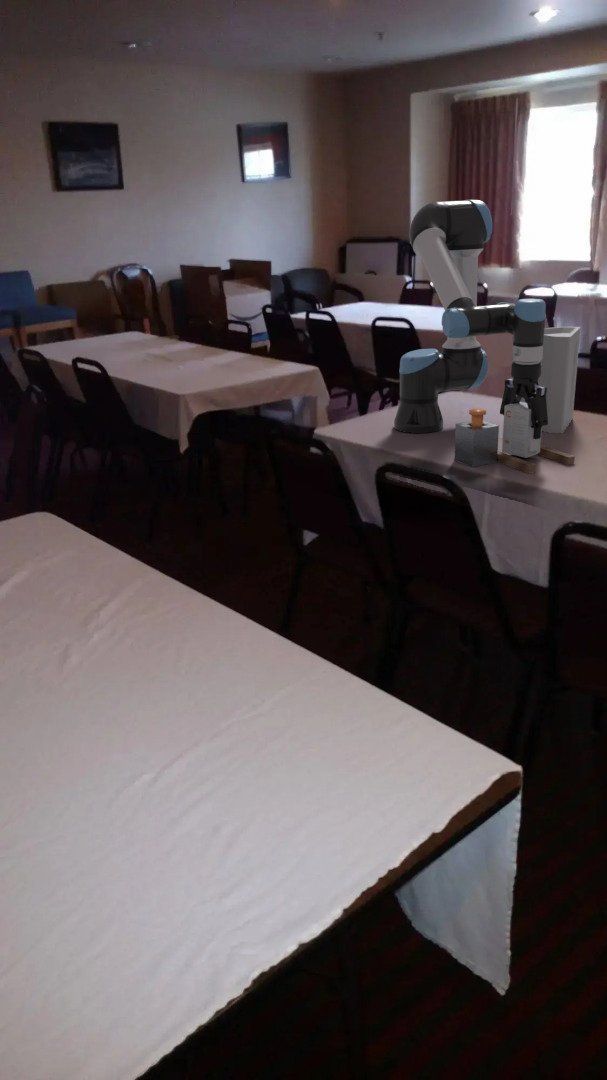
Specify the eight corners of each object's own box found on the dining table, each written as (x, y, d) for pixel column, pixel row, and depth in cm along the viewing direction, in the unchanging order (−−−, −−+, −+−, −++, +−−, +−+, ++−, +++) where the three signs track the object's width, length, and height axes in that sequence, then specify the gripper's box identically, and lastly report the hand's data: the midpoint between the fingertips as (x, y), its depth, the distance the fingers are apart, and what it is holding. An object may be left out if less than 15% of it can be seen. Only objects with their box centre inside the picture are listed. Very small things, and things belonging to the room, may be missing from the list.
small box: (540, 453, 216) (544, 405, 210) (526, 458, 212) (529, 410, 207) (515, 447, 221) (518, 400, 216) (501, 452, 218) (503, 405, 213)
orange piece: (464, 435, 214) (465, 410, 211) (478, 432, 216) (479, 407, 213) (475, 438, 210) (476, 413, 208) (488, 436, 212) (489, 410, 209)
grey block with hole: (454, 459, 217) (455, 423, 213) (478, 454, 220) (479, 419, 217) (472, 467, 211) (474, 430, 207) (497, 462, 214) (498, 425, 210)
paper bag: (525, 415, 258) (530, 326, 247) (573, 418, 252) (580, 326, 241) (511, 430, 242) (517, 335, 232) (562, 433, 236) (570, 336, 225)
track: (479, 454, 221) (480, 447, 220) (523, 445, 226) (523, 439, 226) (528, 473, 204) (529, 466, 203) (574, 463, 210) (574, 456, 209)
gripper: (488, 357, 215) (484, 438, 223) (544, 370, 197) (537, 458, 205) (510, 353, 217) (506, 434, 226) (568, 366, 199) (560, 453, 208)
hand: (521, 445), depth 216 cm, fingers closed on small box, 9 cm apart
